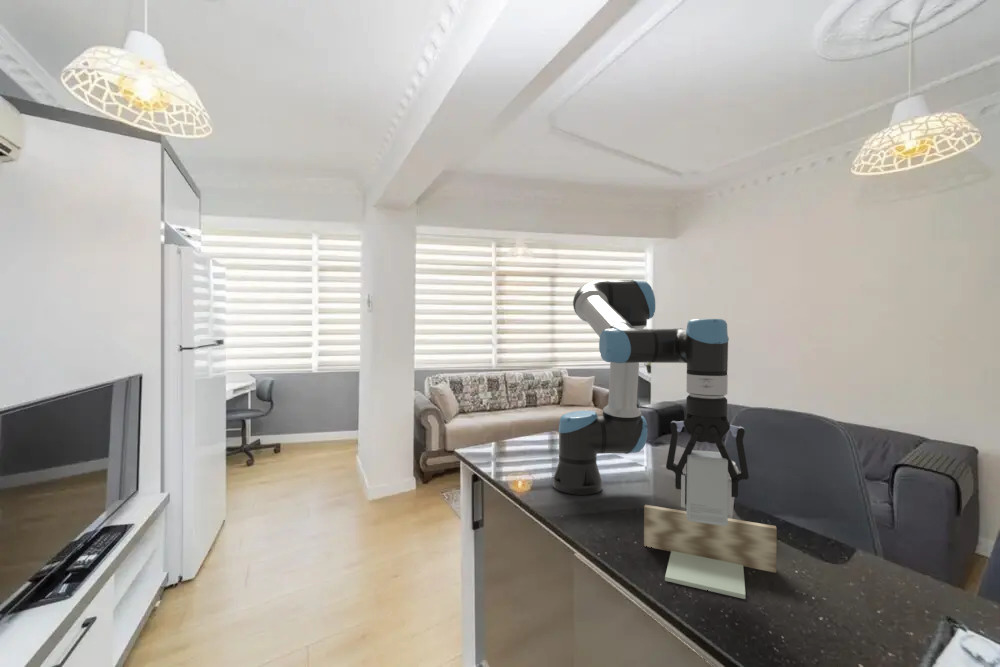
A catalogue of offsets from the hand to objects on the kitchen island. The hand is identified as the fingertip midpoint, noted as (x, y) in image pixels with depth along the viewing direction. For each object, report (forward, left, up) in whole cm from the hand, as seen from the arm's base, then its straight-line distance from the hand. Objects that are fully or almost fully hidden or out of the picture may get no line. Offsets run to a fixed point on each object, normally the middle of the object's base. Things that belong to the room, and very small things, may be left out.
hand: (705, 508), depth 93 cm
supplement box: (0, 0, -2) cm, 2 cm away
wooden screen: (0, +8, -13) cm, 16 cm away
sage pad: (0, 0, -13) cm, 13 cm away
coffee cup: (+2, +32, -14) cm, 35 cm away
